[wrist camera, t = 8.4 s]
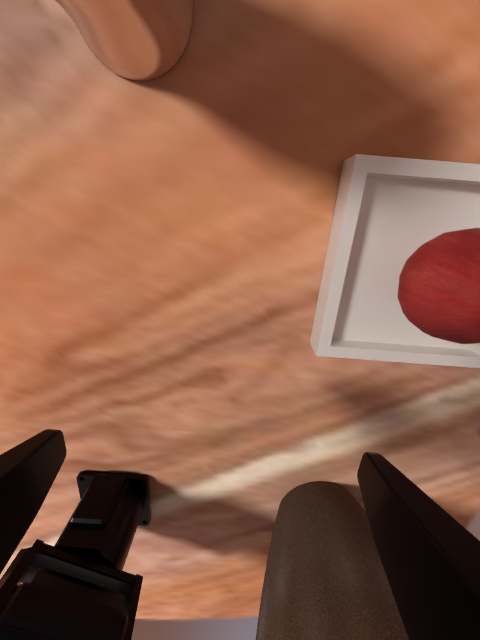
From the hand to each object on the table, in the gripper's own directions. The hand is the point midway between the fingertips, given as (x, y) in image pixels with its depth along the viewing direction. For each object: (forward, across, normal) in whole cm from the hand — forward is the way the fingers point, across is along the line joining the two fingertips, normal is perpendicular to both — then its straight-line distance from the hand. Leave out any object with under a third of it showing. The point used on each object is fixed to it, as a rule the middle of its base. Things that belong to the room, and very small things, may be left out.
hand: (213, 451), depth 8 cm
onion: (+12, -12, -4) cm, 17 cm away
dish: (+12, -12, -4) cm, 18 cm away
